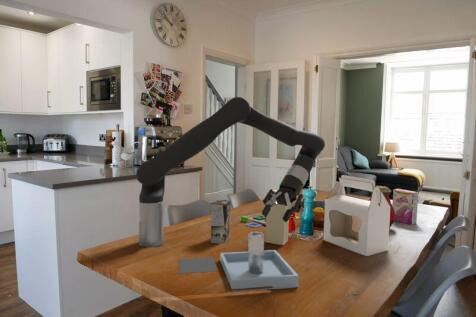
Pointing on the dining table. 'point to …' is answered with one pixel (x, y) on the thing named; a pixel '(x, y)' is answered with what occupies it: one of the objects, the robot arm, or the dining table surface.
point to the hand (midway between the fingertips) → (273, 218)
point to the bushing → (256, 252)
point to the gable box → (370, 212)
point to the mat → (197, 265)
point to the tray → (273, 275)
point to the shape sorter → (256, 220)
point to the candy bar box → (405, 206)
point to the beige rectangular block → (276, 225)
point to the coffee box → (220, 221)
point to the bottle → (386, 193)
